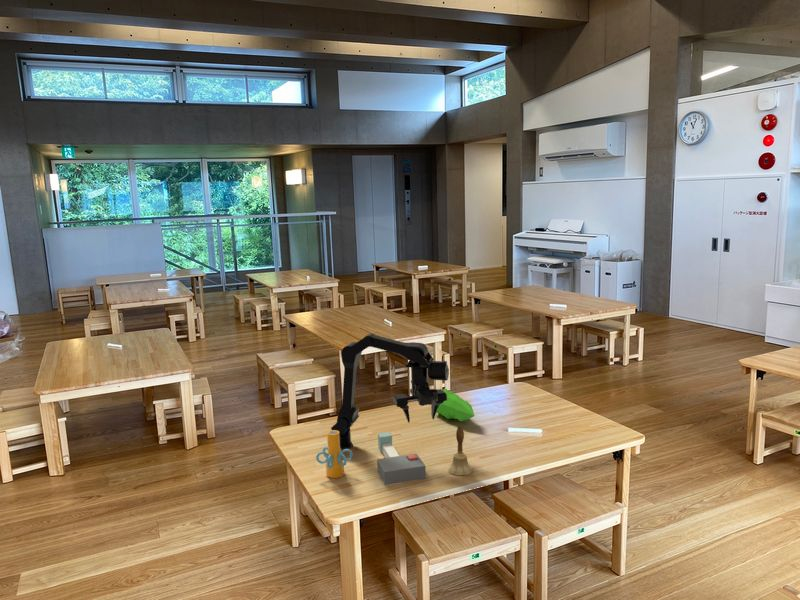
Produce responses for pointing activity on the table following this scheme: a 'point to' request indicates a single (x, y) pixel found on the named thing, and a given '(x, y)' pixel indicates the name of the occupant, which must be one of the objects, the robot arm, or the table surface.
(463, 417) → the decorative tree
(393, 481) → the housing
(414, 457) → the plunger
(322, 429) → the table surface
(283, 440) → the table surface
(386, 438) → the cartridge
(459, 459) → the hand bell
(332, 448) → the orange vase with handles
